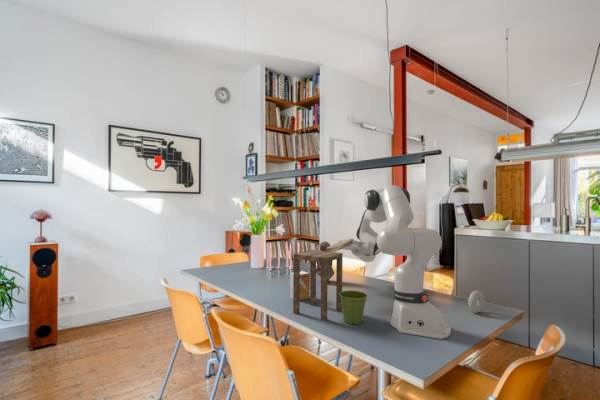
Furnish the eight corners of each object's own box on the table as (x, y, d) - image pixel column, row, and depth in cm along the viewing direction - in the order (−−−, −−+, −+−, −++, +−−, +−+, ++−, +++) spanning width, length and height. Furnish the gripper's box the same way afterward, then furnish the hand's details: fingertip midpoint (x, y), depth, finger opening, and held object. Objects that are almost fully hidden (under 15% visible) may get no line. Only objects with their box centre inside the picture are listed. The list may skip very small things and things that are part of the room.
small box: (296, 301, 159) (296, 274, 160) (289, 297, 165) (289, 272, 165) (309, 298, 164) (310, 273, 164) (302, 295, 169) (303, 270, 169)
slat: (353, 243, 173) (353, 238, 173) (332, 253, 154) (331, 248, 154) (348, 242, 175) (348, 238, 175) (326, 252, 156) (326, 247, 155)
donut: (474, 316, 140) (474, 293, 140) (466, 313, 143) (466, 291, 143) (486, 311, 146) (486, 289, 146) (478, 309, 149) (478, 288, 149)
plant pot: (362, 329, 124) (362, 300, 125) (334, 323, 130) (334, 295, 130) (371, 319, 135) (371, 292, 135) (344, 314, 141) (345, 288, 141)
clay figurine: (326, 279, 206) (327, 240, 207) (338, 282, 199) (338, 241, 199) (312, 282, 198) (312, 241, 198) (323, 285, 190) (323, 243, 191)
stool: (342, 310, 146) (342, 253, 147) (324, 320, 133) (325, 257, 133) (312, 303, 155) (312, 249, 156) (293, 313, 142) (293, 254, 142)
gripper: (343, 242, 189) (333, 234, 179) (376, 244, 177) (367, 236, 167) (341, 252, 187) (330, 245, 177) (375, 255, 175) (365, 247, 165)
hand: (349, 240), depth 172 cm, fingers closed on slat, 3 cm apart
